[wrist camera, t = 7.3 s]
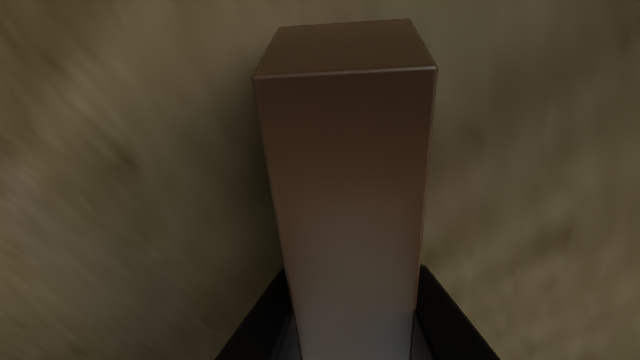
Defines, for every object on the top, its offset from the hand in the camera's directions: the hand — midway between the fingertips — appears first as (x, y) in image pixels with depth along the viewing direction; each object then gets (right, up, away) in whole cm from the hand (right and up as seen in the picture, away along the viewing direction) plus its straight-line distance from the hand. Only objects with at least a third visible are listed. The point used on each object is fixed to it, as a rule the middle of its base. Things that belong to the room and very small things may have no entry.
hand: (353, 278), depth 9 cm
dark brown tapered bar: (0, -2, +3) cm, 3 cm away
